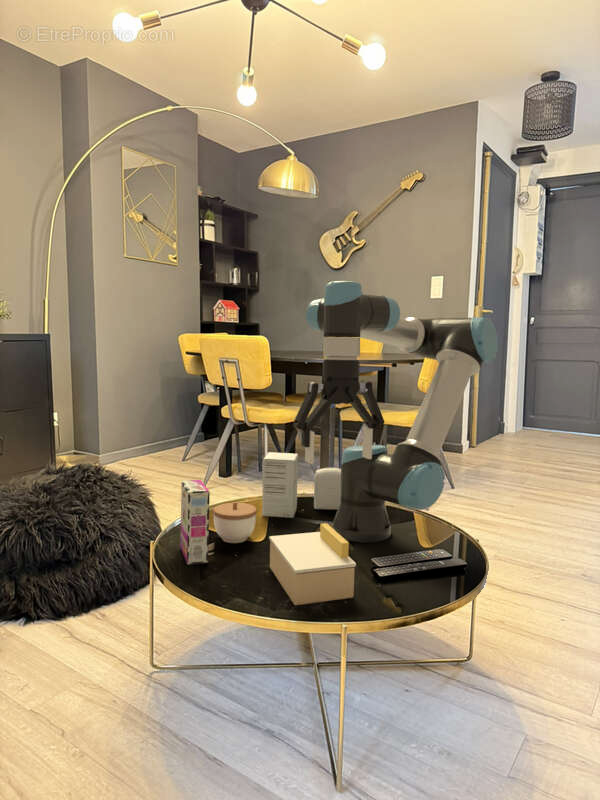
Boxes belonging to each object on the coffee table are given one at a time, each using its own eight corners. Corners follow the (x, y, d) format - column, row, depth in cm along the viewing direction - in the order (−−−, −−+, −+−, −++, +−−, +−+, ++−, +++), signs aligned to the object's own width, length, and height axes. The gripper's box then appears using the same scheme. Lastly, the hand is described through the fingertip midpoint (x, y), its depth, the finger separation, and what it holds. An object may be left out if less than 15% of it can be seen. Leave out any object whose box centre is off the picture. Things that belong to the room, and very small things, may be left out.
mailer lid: (322, 534, 120) (322, 518, 120) (355, 566, 103) (356, 548, 103) (269, 539, 116) (269, 523, 116) (294, 573, 99) (295, 554, 99)
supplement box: (266, 506, 161) (267, 451, 160) (297, 508, 160) (298, 453, 159) (261, 516, 152) (262, 458, 150) (293, 518, 151) (294, 459, 149)
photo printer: (313, 509, 159) (314, 469, 158) (313, 505, 163) (314, 466, 162) (348, 511, 159) (349, 470, 158) (347, 506, 163) (348, 467, 162)
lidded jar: (217, 548, 127) (217, 510, 126) (209, 533, 137) (210, 497, 136) (260, 544, 130) (261, 507, 129) (250, 529, 140) (251, 495, 140)
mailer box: (320, 561, 121) (321, 535, 120) (353, 597, 104) (354, 567, 103) (269, 567, 117) (270, 540, 116) (294, 605, 100) (295, 574, 99)
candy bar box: (209, 563, 118) (210, 491, 117) (187, 566, 117) (187, 492, 115) (200, 545, 129) (201, 478, 127) (179, 547, 127) (180, 480, 125)
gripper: (383, 358, 118) (380, 452, 120) (277, 357, 108) (276, 460, 110) (402, 359, 111) (399, 459, 113) (292, 359, 101) (290, 468, 103)
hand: (338, 460), depth 112 cm, fingers open, 13 cm apart
